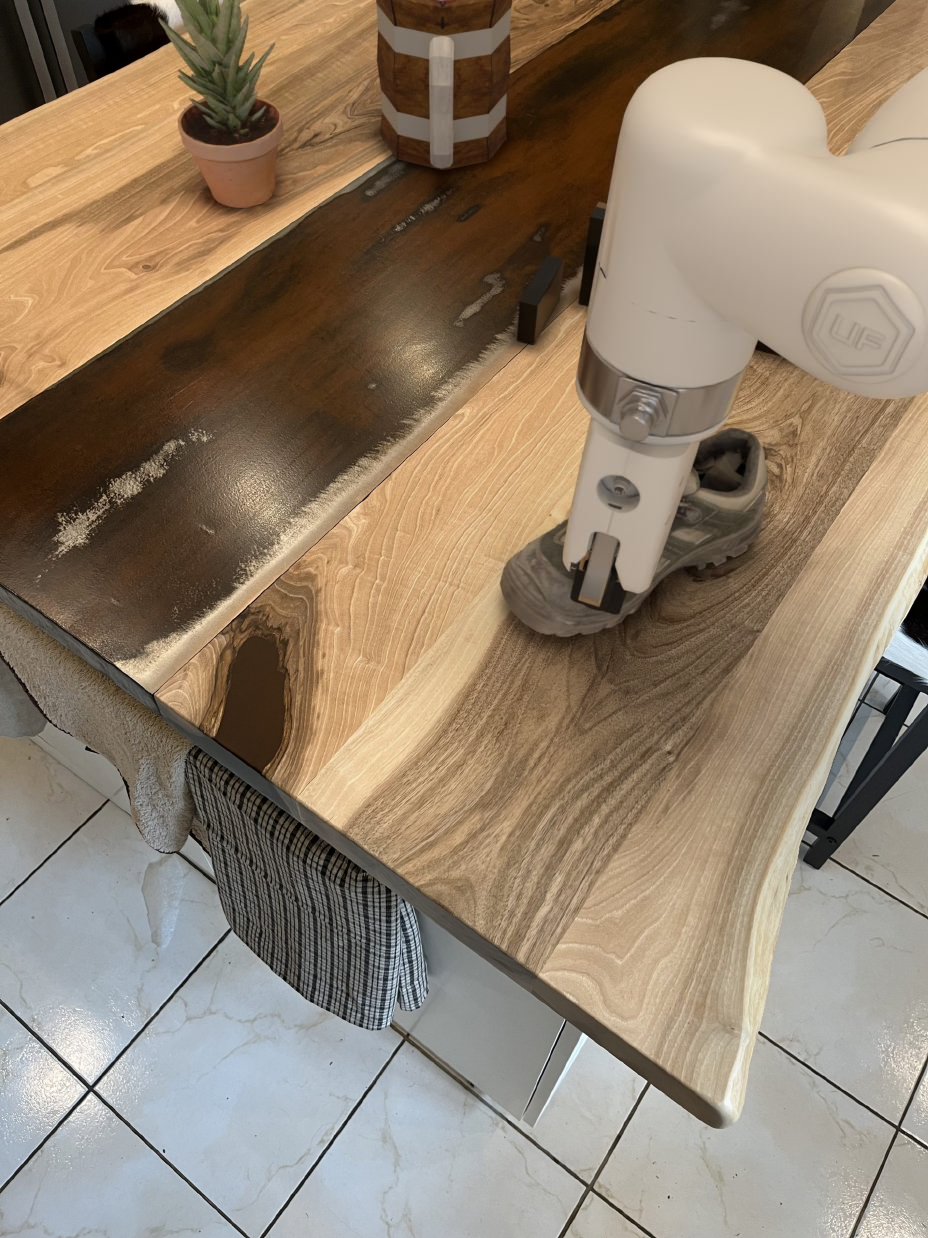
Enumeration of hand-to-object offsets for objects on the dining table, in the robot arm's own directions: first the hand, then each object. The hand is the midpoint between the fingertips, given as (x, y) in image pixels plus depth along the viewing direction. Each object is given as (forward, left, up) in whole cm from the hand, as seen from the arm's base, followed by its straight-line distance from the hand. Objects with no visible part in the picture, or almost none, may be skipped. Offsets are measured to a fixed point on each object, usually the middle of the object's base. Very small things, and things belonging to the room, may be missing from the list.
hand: (597, 598), depth 58 cm
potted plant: (+48, -39, -5) cm, 62 cm away
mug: (+33, -54, -5) cm, 63 cm away
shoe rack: (+2, -32, -5) cm, 33 cm away
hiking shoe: (-1, -8, -5) cm, 9 cm away
